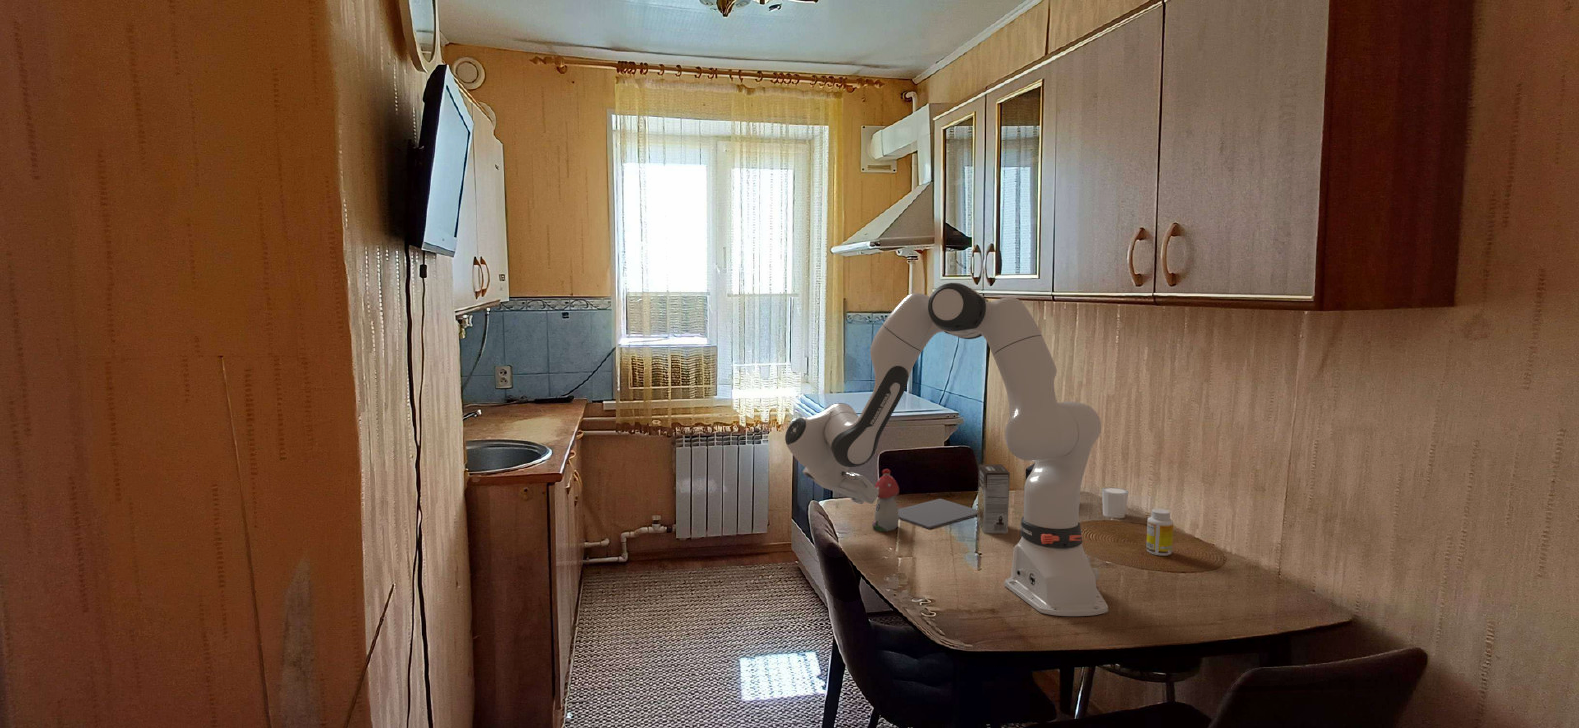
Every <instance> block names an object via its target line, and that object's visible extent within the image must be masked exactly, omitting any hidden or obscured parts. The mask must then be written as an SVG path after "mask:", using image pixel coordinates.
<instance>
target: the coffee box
mask: <svg viewBox="0 0 1579 728" xmlns="http://www.w3.org/2000/svg"><path fill="white" fill-rule="evenodd" d="M1010 477H1011V473H1010V472H1009V471H1008V469H1007V468H1006V467H1005V466H1004V465H1003V464H999V463H998V464H978V478H977V480H978V481H977V483H978V484H977V510H978V511H977V516H976V517H977V520H976V521H977V524H978V526H979V527H980V529H981V528H982V529H981V530H982V532H983V533H984V534H1008V533H1009V532H1008V531H1009V505H1010V504H1009V502H1010V482H1011V481H1010Z"/></svg>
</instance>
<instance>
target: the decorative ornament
mask: <svg viewBox="0 0 1579 728" xmlns="http://www.w3.org/2000/svg"><path fill="white" fill-rule="evenodd" d="M874 486H875V487H876V488H877V489H878V491H879V495H878V496H877V498H878V501H877V504H876V506H875V507H876V508H875V511H874V520H873V521H872V526H871V527H872V528H873V529H874V530H875V531H878V532H884V533H885V532H891V531H895V529H896V528H897V527H898V525H899V520H900V519H899V514H898V509H899V508H898V506H897V502H896V499H895V497H896V496H897V495H899V494H900V487H899V485H898V483H897V481H896V480H895V478H894V477H893V476H892V475H891V470H890V469H888V468H885V469H883V470H882V476H881V477H879V479H878V480H877V481H876V483H875V485H874Z"/></svg>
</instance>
